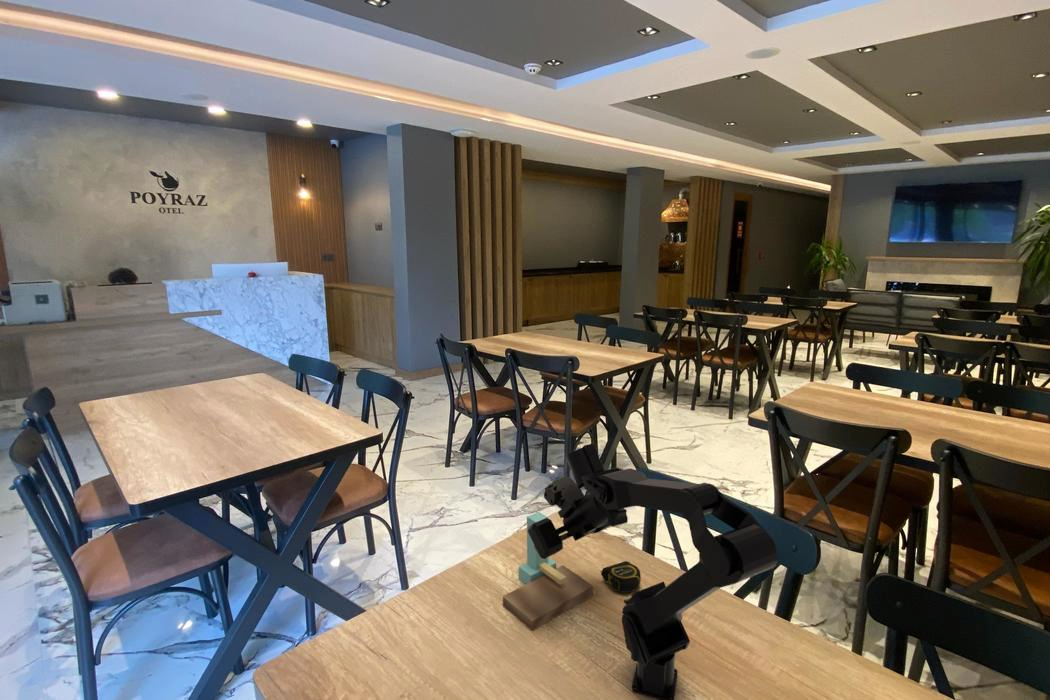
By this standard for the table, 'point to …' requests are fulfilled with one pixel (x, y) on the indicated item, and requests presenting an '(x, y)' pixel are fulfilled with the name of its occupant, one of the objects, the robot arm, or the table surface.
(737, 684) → the table surface
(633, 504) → the robot arm
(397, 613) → the table surface
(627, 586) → the tape measure
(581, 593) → the board
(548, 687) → the table surface
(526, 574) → the teal block tower
